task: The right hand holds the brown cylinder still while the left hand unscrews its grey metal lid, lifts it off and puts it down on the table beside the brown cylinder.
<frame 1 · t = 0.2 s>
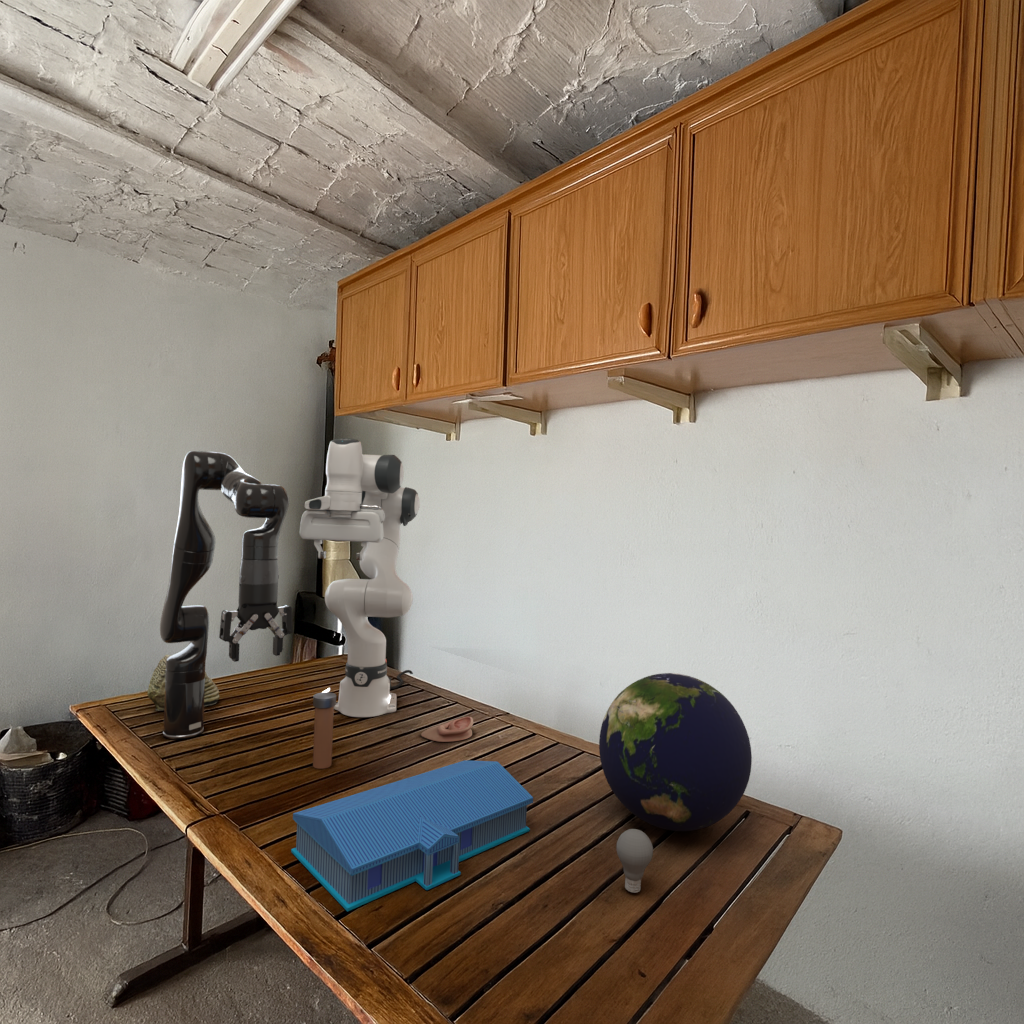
left hand: (256, 657, 132), 29 cm above the table, tool pointing down, fingers open, 8 cm apart
right hand: (341, 559, 157), 48 cm above the table, tool pointing down, fingers open, 8 cm apart
fossil: (183, 706, 185), on the table
globe: (669, 822, 129), on the table
model building: (420, 844, 117), on the table
light bulb: (632, 891, 106), on the table
brown cylinder: (322, 764, 149), on the table
lid: (324, 697, 149), point 16 cm above the table, screwed on, not yet turned
anatomical model: (447, 735, 172), on the table
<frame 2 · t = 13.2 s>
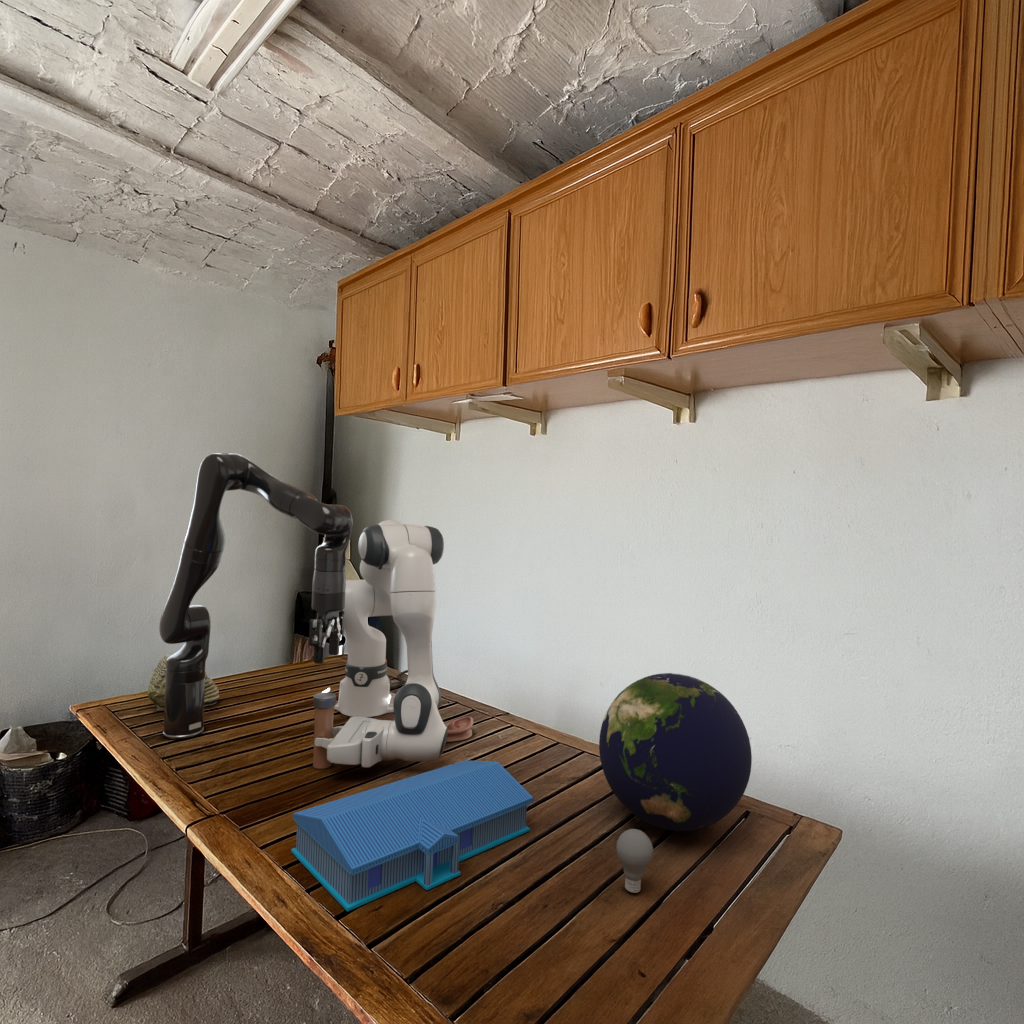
left hand: (326, 658, 149), 25 cm above the table, tool pointing down, fingers open, 7 cm apart
right hand: (319, 736, 149), 7 cm above the table, tool horizontal, fingers closed on brown cylinder, 4 cm apart
brown cylinder: (322, 764, 149), on the table, touching right hand
everything else where it was.
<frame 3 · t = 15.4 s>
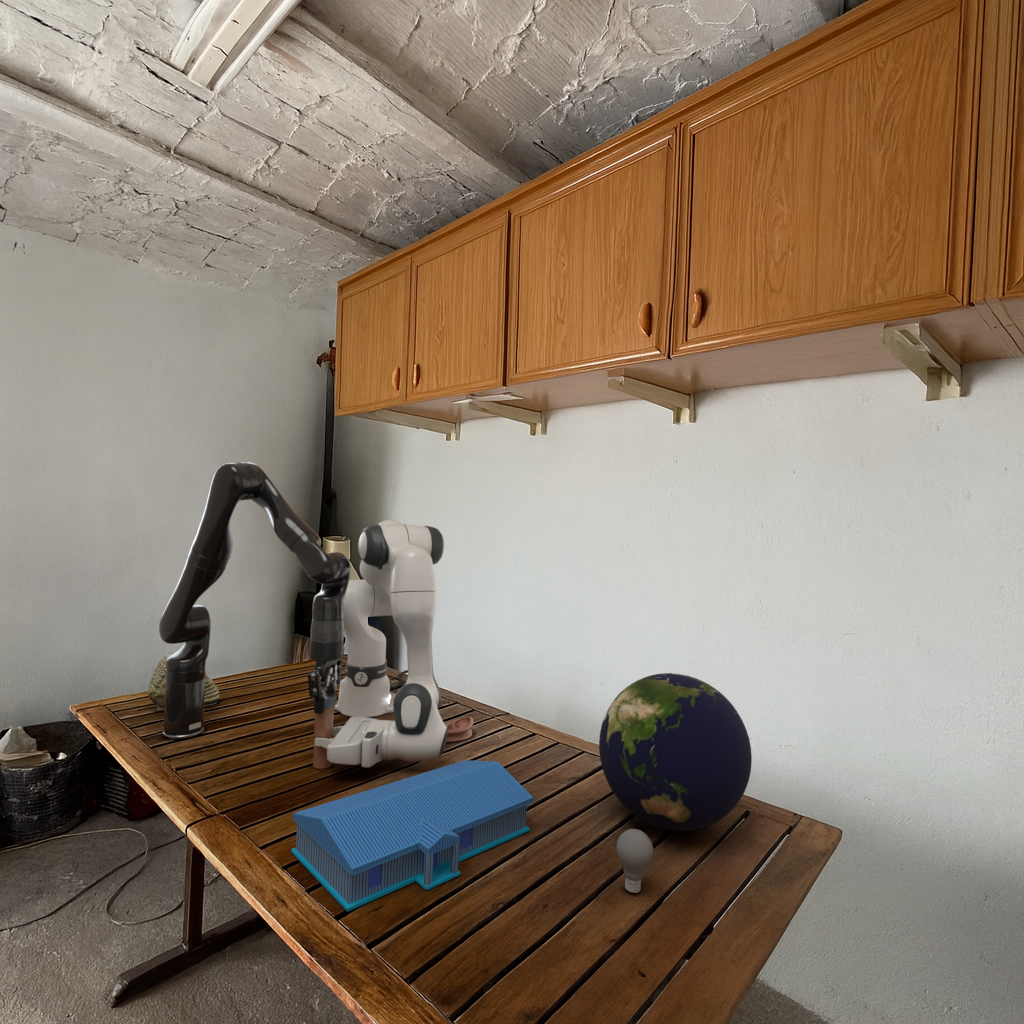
left hand: (324, 708, 149), 13 cm above the table, tool pointing down, fingers closed on lid, 5 cm apart
right hand: (319, 736, 149), 7 cm above the table, tool horizontal, fingers closed on brown cylinder, 4 cm apart
brown cylinder: (322, 765, 149), on the table, touching right hand
lid: (324, 697, 149), point 16 cm above the table, screwed on, not yet turned, touching left hand
everything else where it was.
when the left hand's fingers open (14 cm above the table, at t = 16.8 s): lid stays where it is, point 16 cm above the table.
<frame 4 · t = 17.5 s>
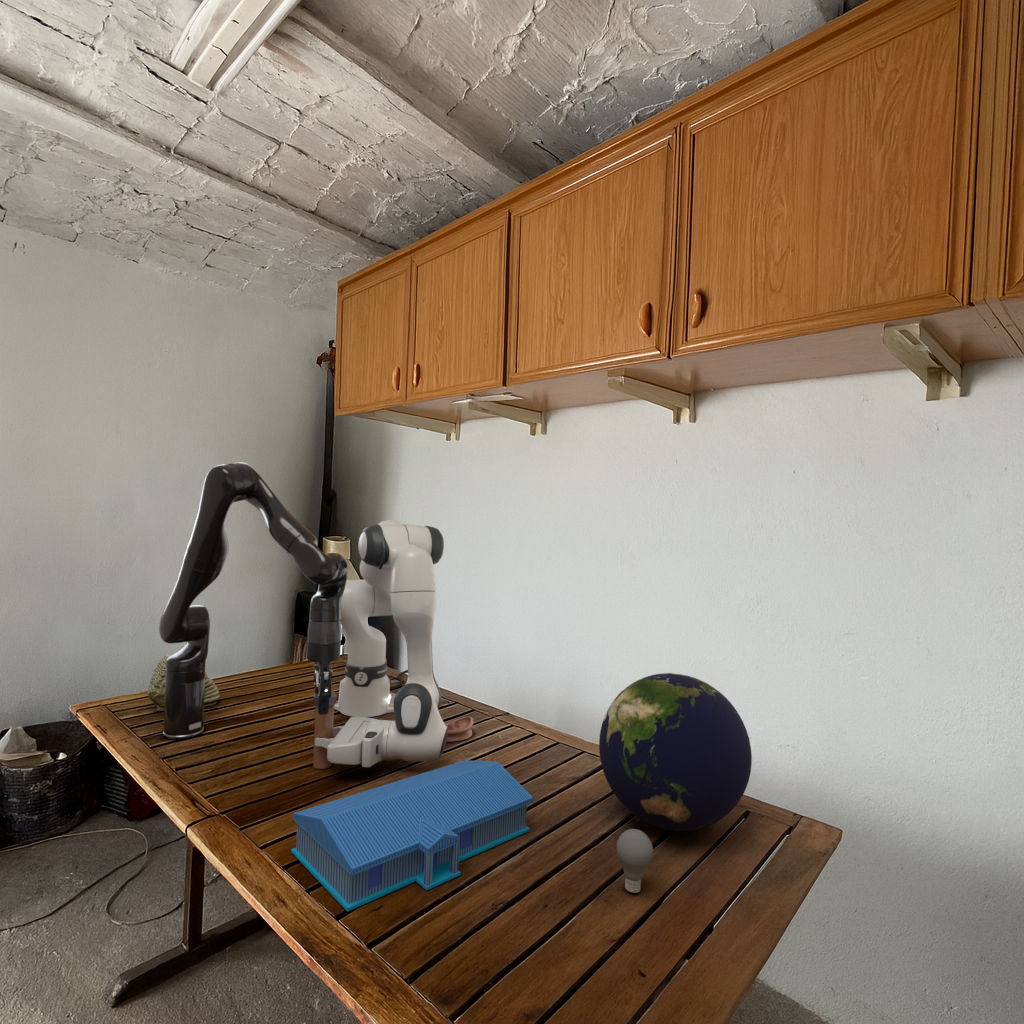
left hand: (321, 708, 148), 14 cm above the table, tool pointing down, fingers open, 7 cm apart
right hand: (319, 736, 149), 7 cm above the table, tool horizontal, fingers closed on brown cylinder, 4 cm apart
brown cylinder: (322, 765, 149), on the table, touching right hand
lid: (325, 696, 149), point 16 cm above the table, turned 68° so far, risen 0.2 cm, still on its thread
everything else where it was.
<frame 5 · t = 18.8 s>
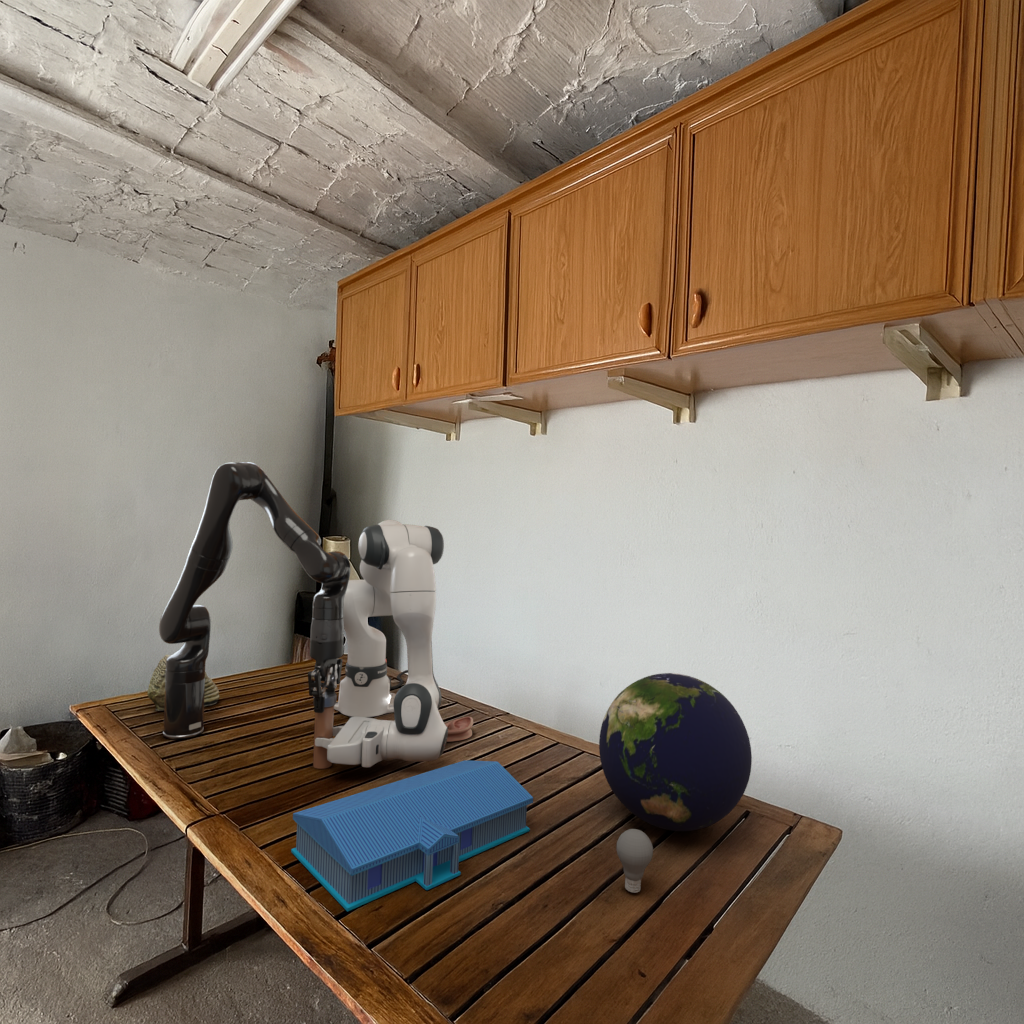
left hand: (324, 708, 149), 14 cm above the table, tool pointing down, fingers closed on lid, 5 cm apart
right hand: (319, 736, 149), 7 cm above the table, tool horizontal, fingers closed on brown cylinder, 4 cm apart
brown cylinder: (322, 765, 149), on the table, touching right hand
lid: (325, 696, 149), point 16 cm above the table, turned 68° so far, risen 0.2 cm, still on its thread, touching left hand
everything else where it was.
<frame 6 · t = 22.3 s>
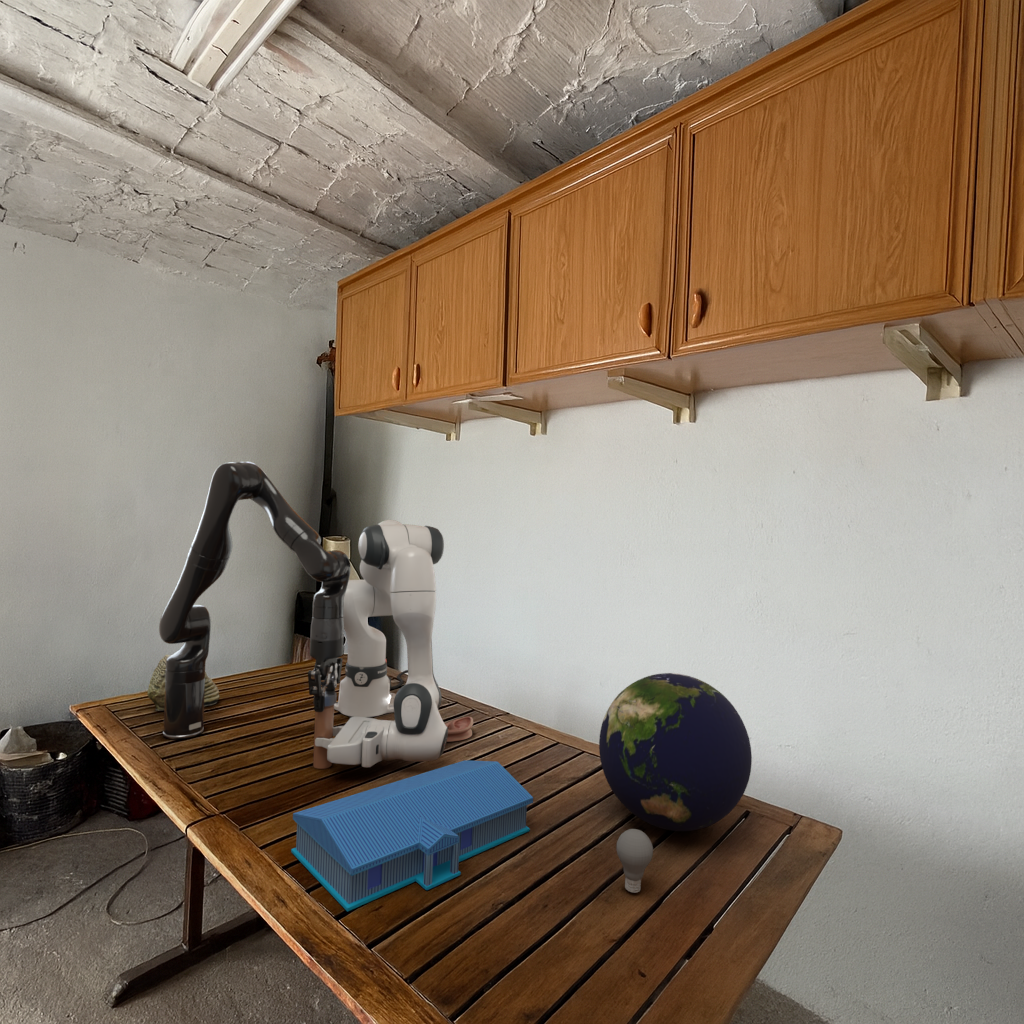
left hand: (324, 707, 149), 14 cm above the table, tool pointing down, fingers closed on lid, 5 cm apart
right hand: (319, 736, 149), 7 cm above the table, tool horizontal, fingers closed on brown cylinder, 4 cm apart
brown cylinder: (322, 765, 149), on the table, touching right hand
lid: (325, 695, 149), point 17 cm above the table, turned 136° so far, risen 0.4 cm, still on its thread, touching left hand
everything else where it was.
when the left hand's fingers open (0 cm above the table, at t = 29.1 s): lid drops 1 cm, point 2 cm above the table.
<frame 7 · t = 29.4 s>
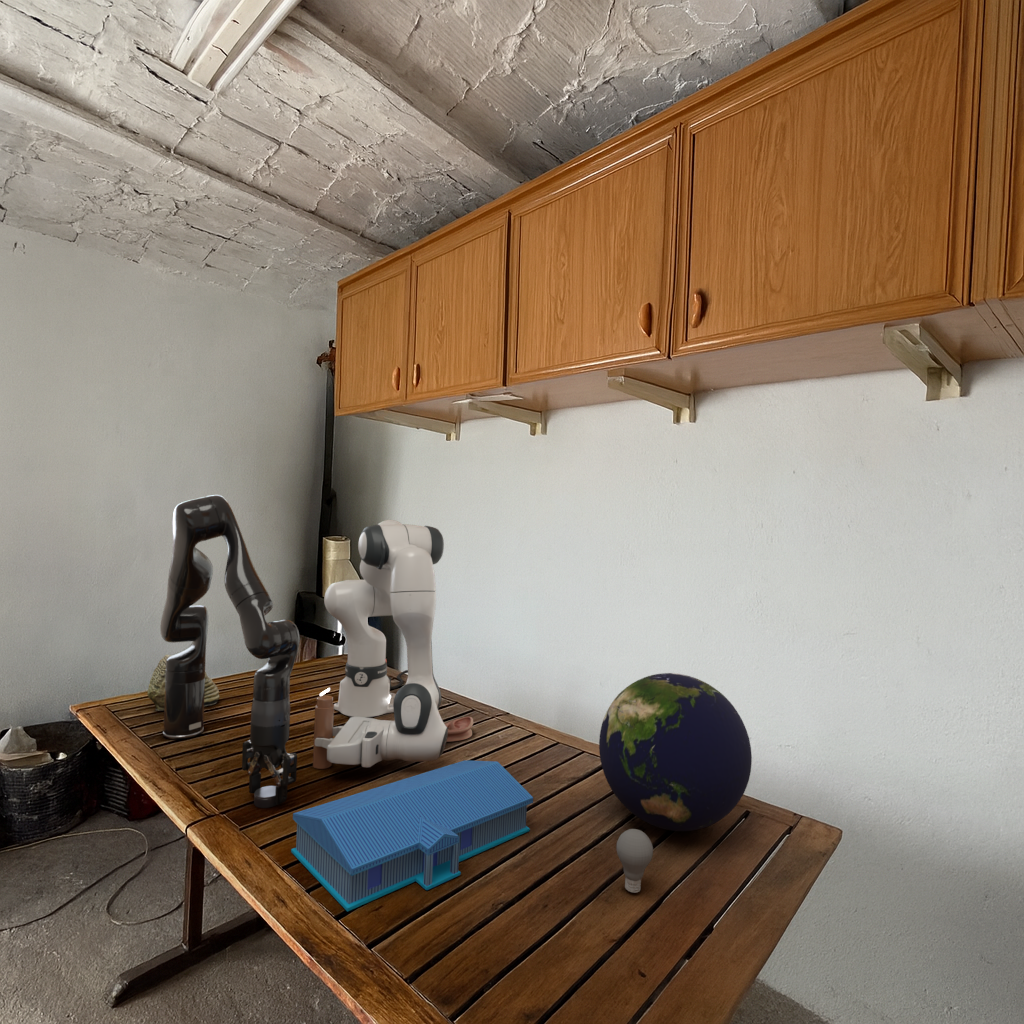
left hand: (267, 797, 130), 1 cm above the table, tool pointing down, fingers open, 7 cm apart
right hand: (319, 736, 149), 7 cm above the table, tool horizontal, fingers closed on brown cylinder, 4 cm apart
brown cylinder: (322, 765, 149), on the table, touching right hand
lid: (267, 793, 130), point 2 cm above the table, off its thread
everything else where it was.
when the right hand's fingers open (7 cm above the table, at t = 30.1 s): brown cylinder stays where it is, on the table.
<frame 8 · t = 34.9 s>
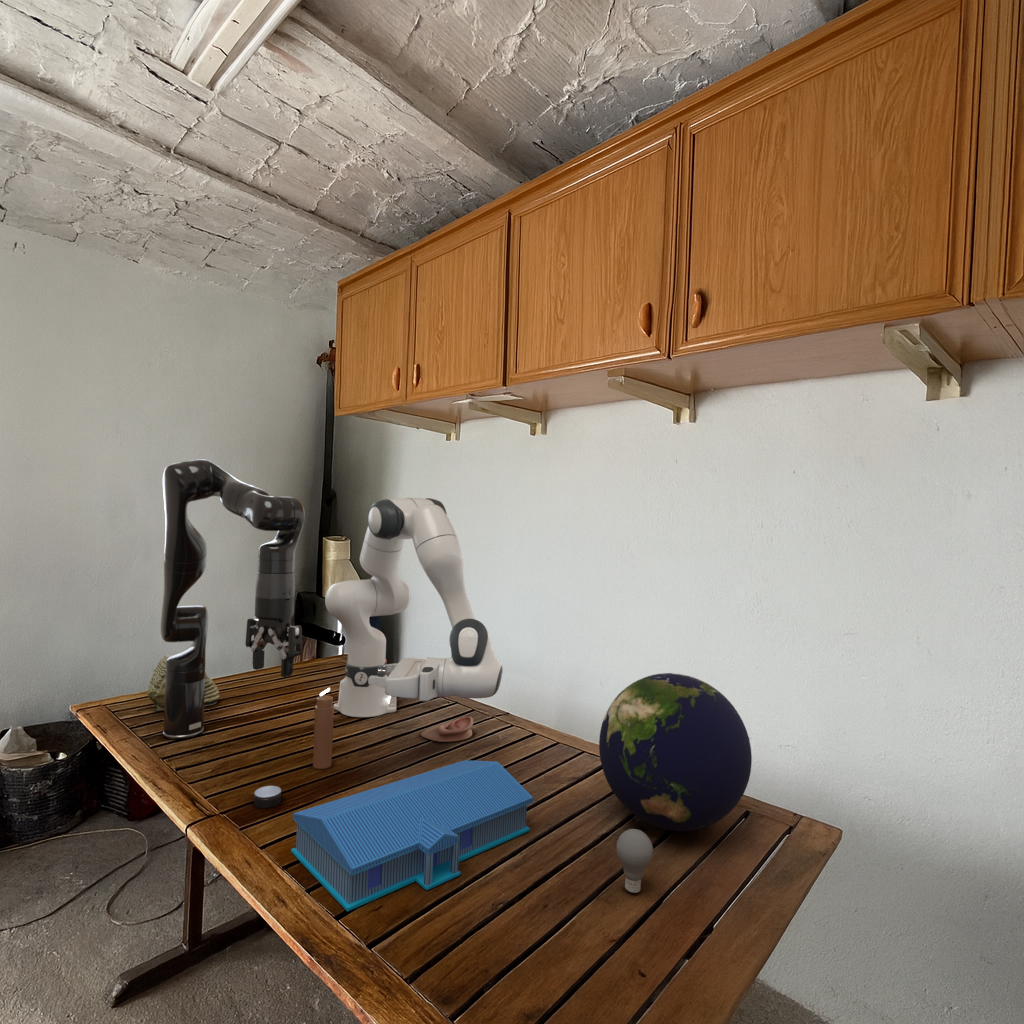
left hand: (272, 672, 130), 27 cm above the table, tool pointing down, fingers open, 8 cm apart
right hand: (373, 674, 149), 22 cm above the table, tool horizontal, fingers open, 8 cm apart
brown cylinder: (322, 765, 149), on the table
everything else where it was.
at the end: lid came off its thread; lid point 1.9 cm above the table; the left hand is holding nothing; the right hand is holding nothing; brown cylinder tilted 0°; brown cylinder moved 0.1 cm from its start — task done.
